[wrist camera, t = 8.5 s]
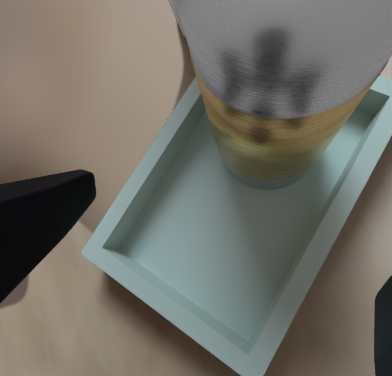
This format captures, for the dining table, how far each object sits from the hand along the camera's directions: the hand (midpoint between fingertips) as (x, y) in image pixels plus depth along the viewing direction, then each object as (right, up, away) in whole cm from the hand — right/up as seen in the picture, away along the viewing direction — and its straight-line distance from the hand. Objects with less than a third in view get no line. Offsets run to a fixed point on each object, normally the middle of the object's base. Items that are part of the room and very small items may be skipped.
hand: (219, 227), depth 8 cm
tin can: (+4, +4, +10) cm, 12 cm away
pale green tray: (+2, +1, +11) cm, 11 cm away
